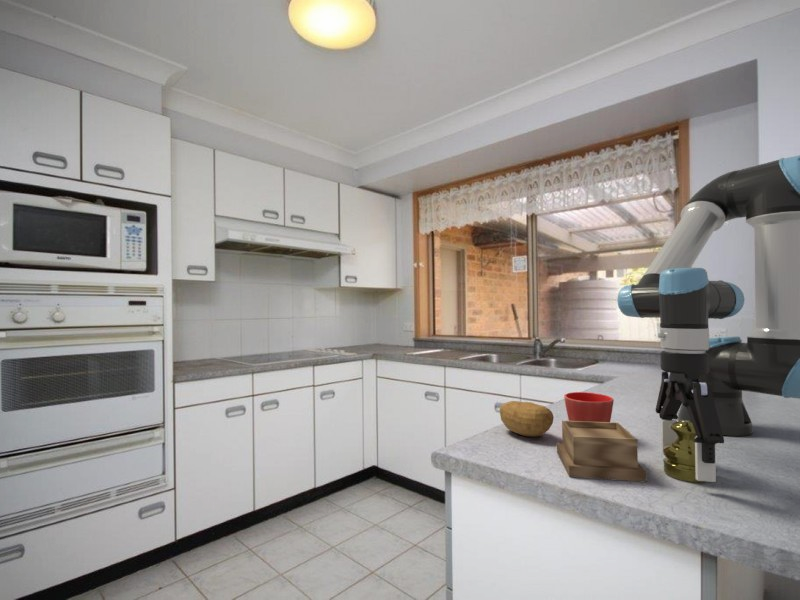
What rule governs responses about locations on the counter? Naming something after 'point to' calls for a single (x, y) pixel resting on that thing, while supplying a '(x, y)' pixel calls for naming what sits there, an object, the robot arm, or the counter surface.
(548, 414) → the potato
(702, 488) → the counter surface
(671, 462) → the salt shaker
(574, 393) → the flower pot
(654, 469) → the counter surface
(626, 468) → the brown wooden square box
